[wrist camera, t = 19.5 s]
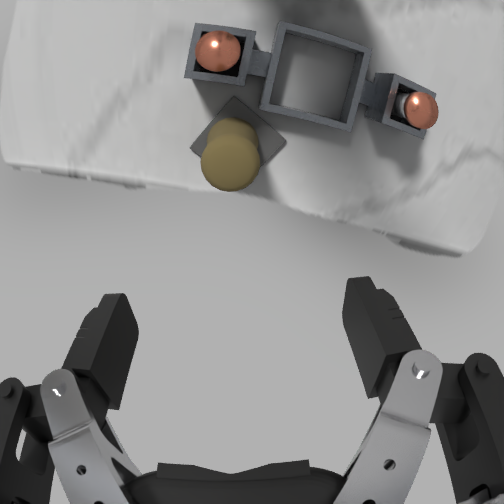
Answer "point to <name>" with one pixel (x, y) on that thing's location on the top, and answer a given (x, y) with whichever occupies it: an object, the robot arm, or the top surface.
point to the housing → (359, 91)
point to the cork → (231, 155)
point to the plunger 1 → (217, 51)
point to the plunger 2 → (416, 109)
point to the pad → (235, 108)
